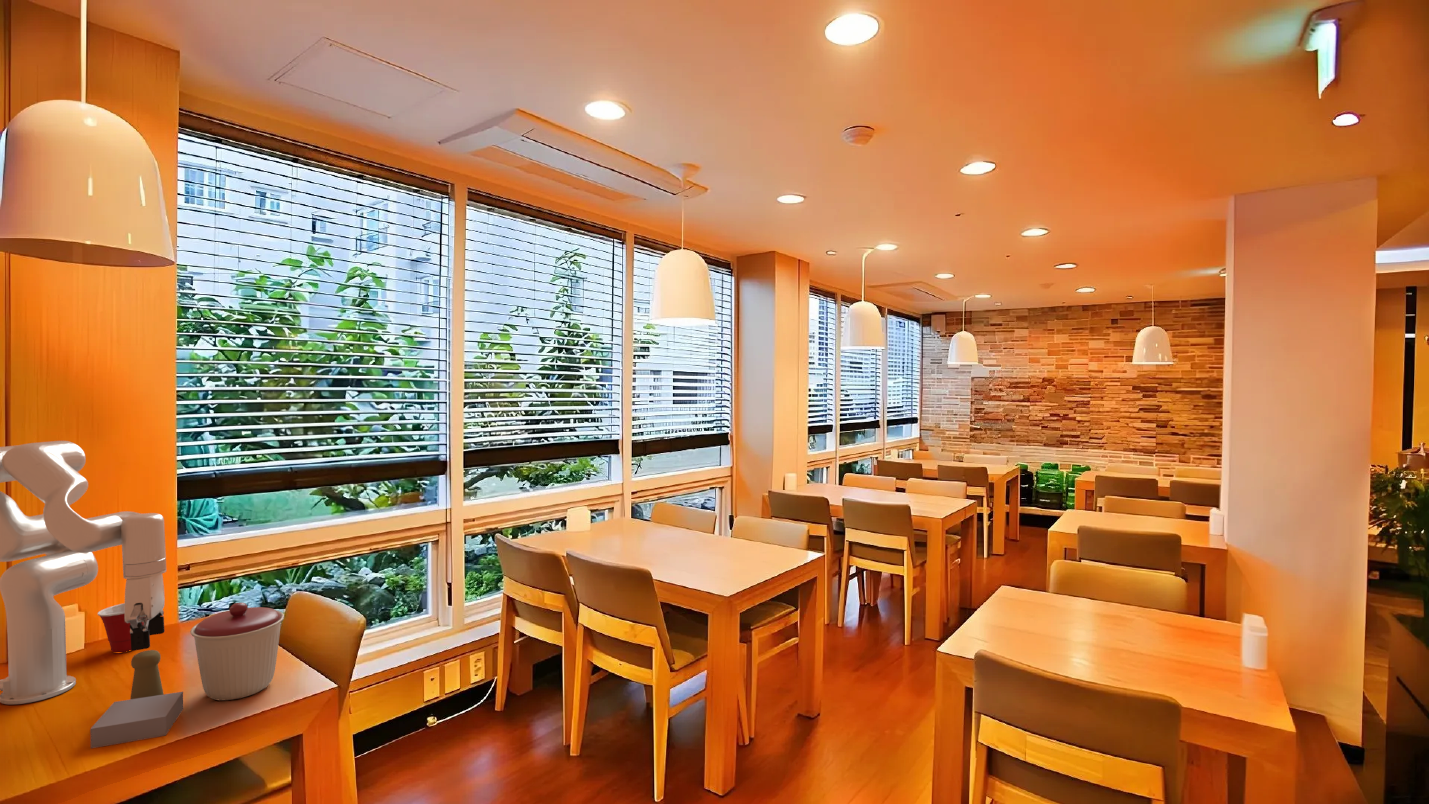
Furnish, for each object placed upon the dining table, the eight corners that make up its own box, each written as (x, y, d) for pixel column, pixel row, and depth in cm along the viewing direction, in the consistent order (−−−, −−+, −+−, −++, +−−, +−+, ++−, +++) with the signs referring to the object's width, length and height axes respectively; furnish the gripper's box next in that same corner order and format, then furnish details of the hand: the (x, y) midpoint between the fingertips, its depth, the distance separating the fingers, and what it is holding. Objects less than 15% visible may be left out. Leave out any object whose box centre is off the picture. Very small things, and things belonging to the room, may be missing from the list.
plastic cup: (119, 642, 185) (118, 599, 185) (161, 640, 186) (160, 598, 186) (86, 658, 175) (85, 613, 174) (131, 657, 176) (130, 612, 175)
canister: (211, 717, 146) (210, 622, 145) (178, 695, 155) (176, 606, 154) (299, 685, 161) (298, 599, 160) (263, 667, 171) (262, 586, 170)
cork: (170, 693, 156) (169, 647, 156) (146, 706, 150) (145, 658, 150) (147, 692, 157) (146, 646, 156) (122, 704, 151) (121, 657, 150)
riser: (90, 748, 133) (90, 728, 133) (114, 720, 144) (114, 702, 144) (165, 735, 138) (165, 716, 138) (183, 708, 149) (183, 691, 149)
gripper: (138, 561, 158) (141, 631, 159) (108, 580, 143) (112, 658, 143) (177, 557, 162) (180, 626, 162) (152, 575, 146) (156, 652, 147)
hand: (148, 641), depth 153 cm, fingers open, 9 cm apart
